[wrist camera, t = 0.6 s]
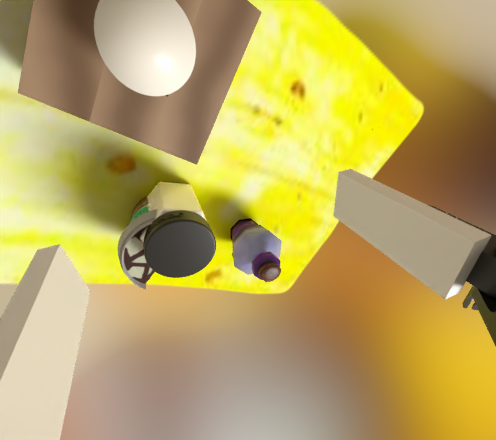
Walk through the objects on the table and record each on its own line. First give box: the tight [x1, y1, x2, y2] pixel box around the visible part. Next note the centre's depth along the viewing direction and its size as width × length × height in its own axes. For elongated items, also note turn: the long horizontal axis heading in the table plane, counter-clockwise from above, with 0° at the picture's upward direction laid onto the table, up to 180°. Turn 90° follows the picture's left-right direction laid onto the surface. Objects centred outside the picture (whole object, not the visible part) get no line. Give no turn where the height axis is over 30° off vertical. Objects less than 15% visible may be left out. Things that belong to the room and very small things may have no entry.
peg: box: [94, 0, 196, 96], centre depth 22 cm, size 7×7×9 cm
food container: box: [118, 196, 158, 289], centre depth 34 cm, size 12×6×10 cm, turn 136°
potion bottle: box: [231, 219, 281, 282], centre depth 41 cm, size 9×9×12 cm
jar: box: [140, 182, 216, 278], centre depth 33 cm, size 9×8×12 cm
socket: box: [18, 0, 261, 164], centre depth 25 cm, size 16×16×8 cm
